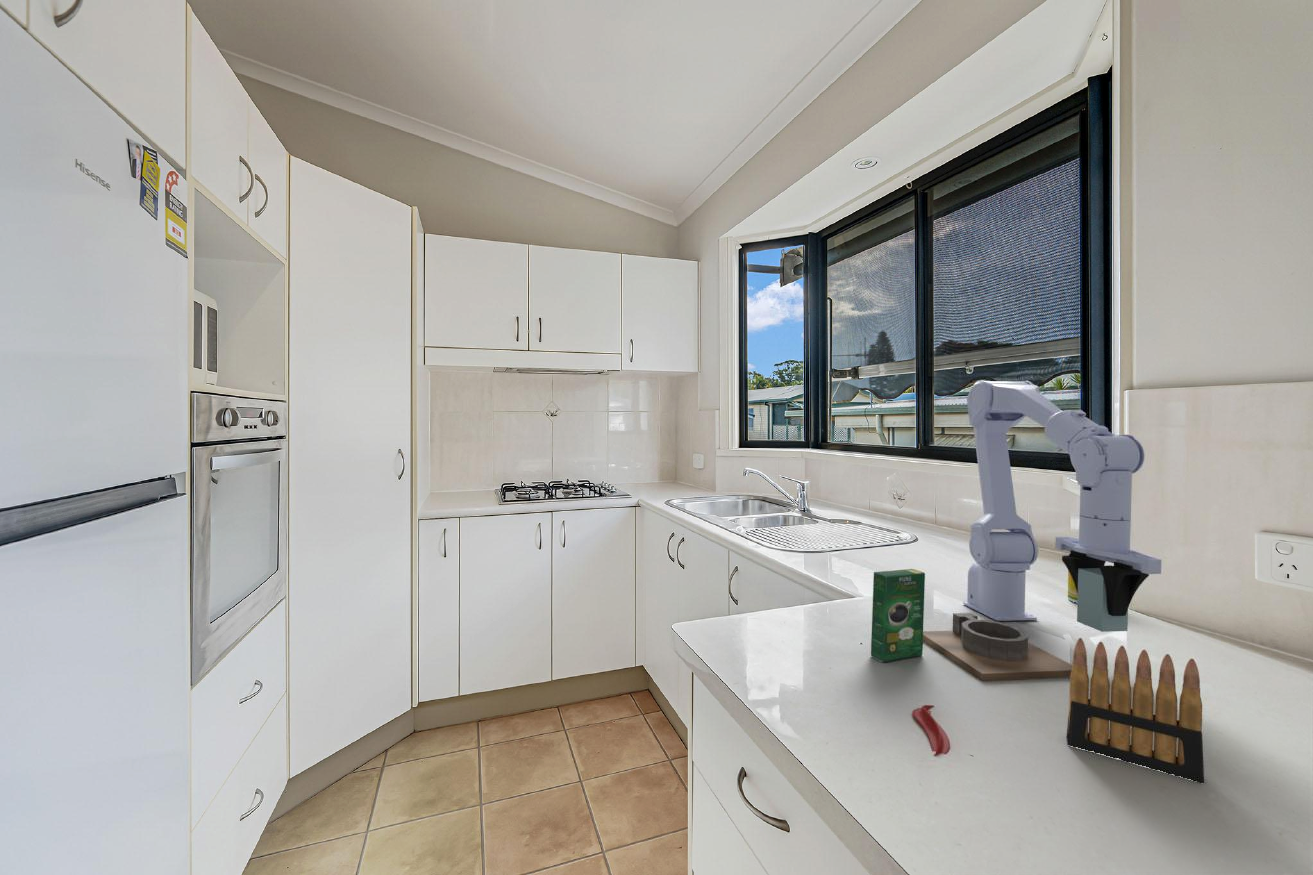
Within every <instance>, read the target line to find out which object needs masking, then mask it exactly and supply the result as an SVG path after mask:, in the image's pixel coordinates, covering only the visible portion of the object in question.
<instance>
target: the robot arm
mask: <svg viewBox="0 0 1313 875" xmlns="http://www.w3.org/2000/svg"><path fill="white" fill-rule="evenodd" d="M966 402H967V412H968V421H969V425H970V426H971V427H973V434H974V435H973V436H974V442H975V450H976V459H977V460H976V461H977V467H978V475H979V484H980V492H981V500H982V508H983V515H982V516H981V517H980V518H979V519H977V520H976V521H975V522H973V523H972V524H971V525H970V539H969V543H968V548H969V553H970V555H971V557H972V559H973V560H974V561H975V562H974V563H972V564H971V566H970V567H969V569H968V572H967V599H966V601H963V602H962V604H963V605H964V606H966V607H969V608H970V609H972V610H975V611H976V612H979V613H981V614H983V615H985V616H987V617H989V618H991V619H993V620H995V621H996V622H1006V621H1007V622H1010V621H1012V622H1013V621H1037V620H1038V617H1037V616H1035V615H1033V614H1031V613H1028V612H1026V611H1025V610H1026V574H1027V573H1026V571H1029V570H1030V569H1031V565H1033V564H1034V563H1035V562H1036V561H1037V559H1038V557H1039V556H1038V555H1039V546H1038V542H1037V540H1036V539H1035V537H1034V534H1033V530H1032V525H1031V524H1030V523H1029V522H1027V521H1026V520H1025V519H1023V518H1021V517H1020V516H1019V515H1018V514H1017V507H1016V499H1015V492H1014V486H1013V478H1012V470H1011V462H1010V455H1009V446H1008V440H1007V433H1008V431H1009V430H1010V429H1011V428H1014V427H1016V426H1018V425H1019V424H1020V423H1021V422H1022V421H1023V420H1024V419H1025V418H1026V417H1027V418H1029V419H1030V420H1032V421H1034V422H1036V423H1037V424H1038V425H1041V426H1042V427H1044V429H1043V430H1044V435H1045V437H1046V439H1048V440H1049V441H1050V442H1052V443H1053V444H1055V445H1056V446H1057V447H1059V448H1060V449H1061V450H1062V451H1064V452H1065V453H1066V454H1068V455H1069V457H1070V462H1071V465H1072V467H1073V468H1074V471H1075V481H1077V484H1078V485H1080V488H1079V522H1078V523H1079V524H1078V526H1079V527H1078V538H1075V537H1069V536H1056V537H1055V542H1054V543H1055V547H1054V549H1056V550H1058V551H1067V552H1069V554H1068V555H1062V556H1061V561H1062V562H1063V564H1064V565H1065V567H1066V568H1067V570H1069V572H1070V574H1071V576H1072V579H1073V581H1074V584H1075V587H1076V591H1077V594H1078V569H1079V568H1100V570H1101V573H1102V575H1103V578H1104V581H1105V586H1106V592H1107V609H1108V613H1109V615H1111V616H1126V613H1127V610H1128V611H1129V607H1130V605H1131V602H1132V600H1133V598H1134V596H1135V594H1136V592H1137V590H1138V589H1139V587H1140V586H1141V585H1142V584H1143V582H1145V581H1146V579H1147V578H1149V576H1150V575H1161V574H1162V561H1163V560H1162V559H1159V558H1156V557H1153V556H1149V555H1147V554H1144V553H1141V552H1138V551H1135V550H1134V549H1131V527H1132V526H1131V523H1132V517H1131V516H1132V494H1133V493H1132V490H1133V488H1132V486H1133V474H1135V473H1137V472H1138V471H1139V470H1140V469H1141V468H1142V466H1143V464H1144V462H1145V450H1144V446H1142V444H1141V442H1140V441H1139V440H1137V439H1136V438H1135V436H1133V435H1131V434H1115V433H1112V432H1110V431H1109V428H1108V427H1106V426H1105V425H1099V424H1098V423H1096V422H1094V421H1093V420H1091V419H1089V418H1088V417H1086V415H1087V413H1086V412H1084V411H1083V410H1082V409H1067V410H1061V409H1060V407H1058V406H1057V405H1056V404H1054V403H1053V402H1051V401H1050V400H1049V399H1048V398H1047V397H1045V396H1044V395H1043V394H1041V392H1040V387H1039V386H1038V385H1036V384H1034V383H1033V382H1031V381H1030V380H1021V381H1003V380H1002V381H1000V380H999V381H998V380H997V381H991V380H989V381H987V380H977V381H976V382H974V384H973V385H972V387H971V388H970V391H969V393H968V395H967V397H966ZM993 530H1003V531H993ZM1106 562H1107V563H1110V564H1111V565H1106ZM1112 564H1113V565H1112Z"/></svg>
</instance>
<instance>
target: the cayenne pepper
mask: <svg viewBox="0 0 1313 875" xmlns="http://www.w3.org/2000/svg"><path fill="white" fill-rule="evenodd" d="M932 708H935V706H934V705H932V704H931V705H930V704H924V705H922V706H921V707H918V708H915V709H913V711H912V717H913V719H914V721H915V722H916V723H917V724H918V725H919V726H920V727H921V728H922V729H923V731H924V732H925V734H926V736H927V737H928V739H929V743H930V747H931V751H932V752H934V754H933V757H936V756H938V755H941V754H942V755H946V754H948V753H949V750H950V747H951V744H950V739H949V737H948V735H947V733H946V732H945V730H944V729H943V727H941V726H940V724H939V723H938V722H937V721H936V720H935V718H934V717H933V716H932V715H931V714H932V710H930V709H932Z"/></svg>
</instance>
